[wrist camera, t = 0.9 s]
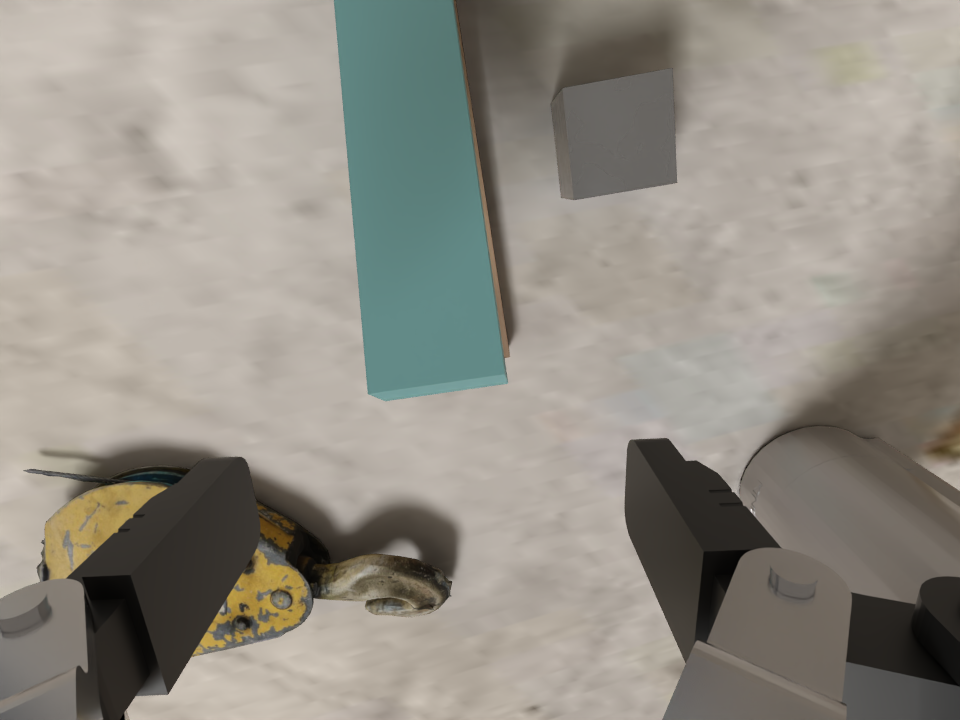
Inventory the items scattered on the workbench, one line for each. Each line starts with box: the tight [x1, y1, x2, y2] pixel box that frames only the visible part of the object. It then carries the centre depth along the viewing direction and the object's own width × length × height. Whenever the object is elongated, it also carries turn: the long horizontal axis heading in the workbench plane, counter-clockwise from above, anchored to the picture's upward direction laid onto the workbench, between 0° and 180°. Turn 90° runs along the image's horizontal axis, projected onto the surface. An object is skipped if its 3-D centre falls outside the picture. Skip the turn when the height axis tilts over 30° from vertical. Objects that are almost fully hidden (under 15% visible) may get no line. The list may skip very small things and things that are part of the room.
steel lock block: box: [551, 68, 677, 200], centre depth 27 cm, size 5×5×5 cm
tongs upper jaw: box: [334, 0, 508, 401], centre depth 20 cm, size 4×24×2 cm
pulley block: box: [23, 465, 452, 657], centre depth 36 cm, size 14×6×30 cm
